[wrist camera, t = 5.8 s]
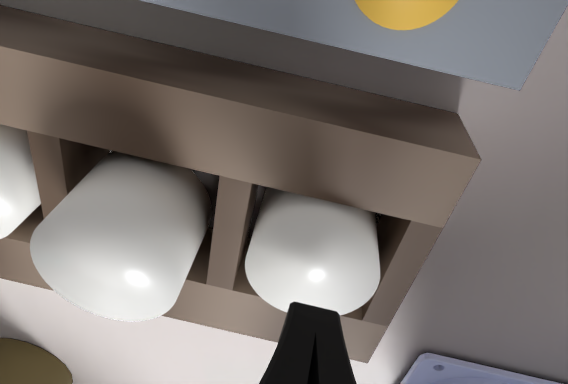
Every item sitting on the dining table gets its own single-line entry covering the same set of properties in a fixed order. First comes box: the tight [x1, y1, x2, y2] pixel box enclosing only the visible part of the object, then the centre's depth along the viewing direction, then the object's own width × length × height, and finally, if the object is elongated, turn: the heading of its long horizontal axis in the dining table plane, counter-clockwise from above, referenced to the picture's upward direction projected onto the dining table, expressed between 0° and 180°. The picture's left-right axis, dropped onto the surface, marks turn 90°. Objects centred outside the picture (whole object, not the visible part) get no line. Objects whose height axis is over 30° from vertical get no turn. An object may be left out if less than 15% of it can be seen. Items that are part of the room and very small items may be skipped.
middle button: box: [30, 151, 212, 322], centre depth 13 cm, size 4×4×4 cm
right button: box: [245, 187, 380, 315], centre depth 15 cm, size 4×4×4 cm
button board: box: [0, 5, 481, 363], centre depth 15 cm, size 19×10×3 cm, turn 79°
